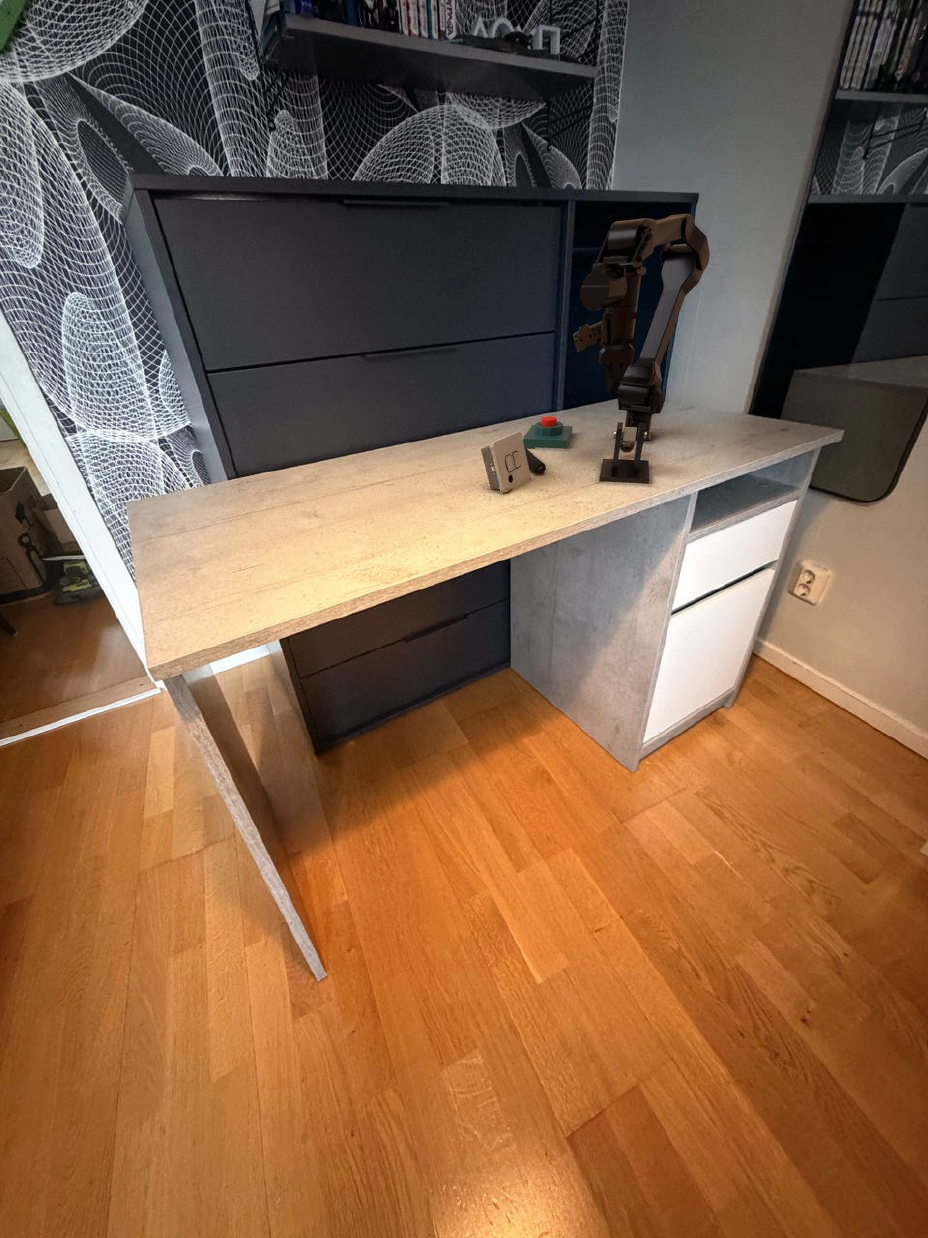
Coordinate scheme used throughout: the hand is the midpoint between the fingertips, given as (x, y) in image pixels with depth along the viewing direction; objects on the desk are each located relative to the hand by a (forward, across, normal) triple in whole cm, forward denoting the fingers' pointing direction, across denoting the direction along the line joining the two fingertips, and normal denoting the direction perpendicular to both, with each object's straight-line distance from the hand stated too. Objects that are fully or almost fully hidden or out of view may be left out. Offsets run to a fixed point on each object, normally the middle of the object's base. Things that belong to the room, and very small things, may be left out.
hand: (611, 395), depth 101 cm
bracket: (+12, +12, +4) cm, 18 cm away
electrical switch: (+12, +21, -18) cm, 30 cm away
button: (+8, -8, -13) cm, 18 cm away
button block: (+12, -8, -13) cm, 20 cm away
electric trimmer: (+12, +9, -16) cm, 22 cm away
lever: (+8, +8, +4) cm, 12 cm away
